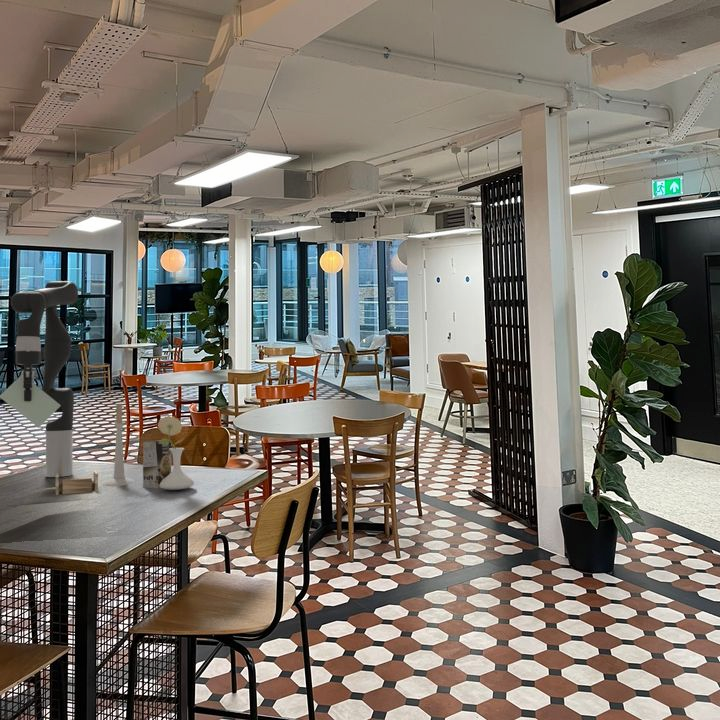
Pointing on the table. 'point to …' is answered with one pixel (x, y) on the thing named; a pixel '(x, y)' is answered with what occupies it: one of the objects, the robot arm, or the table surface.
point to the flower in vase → (174, 456)
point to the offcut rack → (94, 483)
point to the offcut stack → (76, 485)
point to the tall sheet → (30, 402)
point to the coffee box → (155, 463)
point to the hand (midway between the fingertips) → (27, 401)
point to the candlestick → (118, 454)
